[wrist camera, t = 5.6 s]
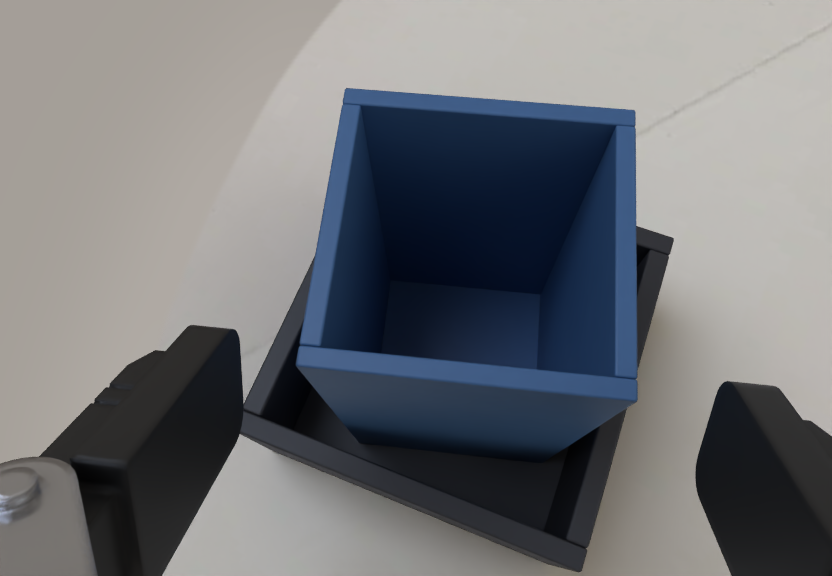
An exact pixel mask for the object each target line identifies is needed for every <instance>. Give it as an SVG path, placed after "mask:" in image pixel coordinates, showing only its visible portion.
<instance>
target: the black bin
mask: <svg viewBox="0 0 832 576" xmlns="http://www.w3.org/2000/svg"><path fill="white" fill-rule="evenodd" d="M673 241H674V239H673V238H672V237H668V236H665V235H662V234H659V233H656V232H653V231H650V230H647V229H644V228H641V227H638V226H636V257H637V370H638V367H639V363H640V360H641V356H642V352H643V349H644V345H645V342H646V338H647V334H648V331H649V327H650V324H651V320H652V317H653V313H654V309H655V306H656V302H657V299H658V295H659V291H660V288H661V284H662V281H663V277H664V273H665V270H666V266H667V263H668V259H669V254H670V252H671V248H672V245H673ZM314 260H315V257H314V259H313V261H312V263H311V265H310V267H309V269H308V271H307V274H306V276H305V278H304V280H303V282H302V284H301V286H300V288H299V290H298V292H297V294H296V296H295V298H294V301H293V303H292V305H291V307H290V309H289V311H288V313H287V315H286V317H285V319H284V321H283V323H282V326H281V328H280V330H279V332H278V334H277V336H276V338H275V340H274V342H273V344H272V346H271V348H270V350H269V353H268V355H267V357H266V359H265V361H264V363H263V365H262V367H261V369H260V371H259V373H258V375H257V377H256V380H255V382H254V384H253V386H252V388H251V390H250V392H249V394H248V396H247V398H246V400H245V402H244V405H243V407H244V410H243V420H242V426H241V430H240V434H241V435H243V436H245V437H247V438H249V439H251V440H253V441H255V442H257V443H258V444H260V445H262V446H264V447H266V448H268V449H270V450H272V451H275V452H277V453H279V454H282V455H284V456H287V457H289V458H292V459H294V460H296V461H299V462H301V463H304V464H306V465H309V466H311V467H313V468H316V469H318V470H321V471H323V472H326V473H328V474H330V475H333V476H335V477H338V478H340V479H343V480H345V481H347V482H350V483H352V484H355V485H357V486H360V487H362V488H364V489H367V490H369V491H372V492H374V493H377V494H379V495H381V496H384V497H386V498H389V499H391V500H394V501H396V502H398V503H401V504H403V505H406V506H408V507H411V508H413V509H415V510H418V511H420V512H423V513H425V514H428V515H430V516H432V517H435V518H437V519H440V520H442V521H445V522H447V523H449V524H452V525H454V526H457V527H459V528H462V529H464V530H466V531H469V532H471V533H474V534H476V535H479V536H481V537H484V538H486V539H488V540H491V541H493V542H496V543H498V544H501V545H503V546H505V547H508V548H510V549H513V550H515V551H518V552H520V553H522V554H525V555H527V556H530V557H532V558H535V559H537V560H539V561H542V562H544V563H547V564H549V565H553V566H557V567H561V568H565V569H568V570H572V571H576V572H581V571H582V568H583V564H584V561H585V557H586V553H587V549H586V548H587V547H588V546H589V542H590V539H591V535H592V532H593V528H594V525H595V521H596V517H597V514H598V510H599V507H600V503H601V499H602V496H603V492H604V489H605V485H606V481H607V478H608V474H609V471H610V467H611V464H612V460H613V456H614V453H615V449H616V446H617V442H618V438H619V435H620V431H621V428H622V424H623V421H624V417H625V413H626V410H627V408H626V409H624V410H623V411H621V412H620V413H618V414H617V415H615V416H614V417H612V418H611V419H609V420H608V421H606V422H604V423H603V424H601V425H600V426H598V427H597V428H595V429H594V430H592V431H591V432H589V433H588V434H586V435H585V436H583V437H581V438H580V439H578V440H577V441H575V442H574V443H572V444H571V445H569V446H568V447H566V448H565V449H563V450H562V451H560V452H558V453H557V454H555V455H554V456H552V457H551V458H549V459H548V460H546V461H545V462H543V463H534V462H525V461H516V460H507V459H498V458H489V457H480V456H471V455H462V454H453V453H444V452H435V451H426V450H417V449H408V448H399V447H390V446H381V445H371V444H362V443H359V442H358V441H357V440H356V439H355V437H354V436H353V435H352V434H351V432H350V431H349V430H348V429H347V428H346V426H345V425H344V424H343V423H342V421H341V420H340V419H339V418H338V417H337V415H336V414H335V413H334V412H333V410H332V409H331V408H330V407H329V406H328V404H327V403H326V402H325V401H324V399H323V398H322V397H321V396H320V395H319V393H318V392H317V391H316V390H315V388H314V387H313V386H312V385H311V384H310V382H309V381H308V380H307V379H306V377H305V376H304V375H303V374H302V373H301V371H300V370H299V369H298V368H297V366H296V360H297V354H298V349H299V347H300V346H301V345H300V338H301V332H302V327H303V321H304V315H305V310H306V304H307V299H308V293H309V288H310V282H311V276H312V271H313V265H314Z"/></svg>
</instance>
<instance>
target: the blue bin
mask: <svg viewBox="0 0 832 576" xmlns="http://www.w3.org/2000/svg"><path fill="white" fill-rule="evenodd" d="M300 345H301V346H300V347H299V349H298V354H297V360H296V366H297V368H298V369H299V370H300V371H301V373H302V374H303V375H304V376H305V377H306V379H307V380H308V381H309V382H310V384H311V385H312V386H313V387H314V388H315V390H316V391H317V392H318V393H319V395H320V396H321V397H322V398H323V399H324V401H325V402H326V403H327V404H328V406H329V407H330V408H331V409H332V410H333V412H334V413H335V414H336V415H337V417H338V418H339V419H340V420H341V421H342V423H343V424H344V425H345V426H346V428H347V429H348V430H349V431H350V432H351V434H352V435H353V436H354V437H355V439H356V440H357V441H358V442H359V443H362V444H371V445H381V446H390V447H399V448H408V449H417V450H426V451H435V452H444V453H453V454H462V455H471V456H480V457H489V458H498V459H507V460H516V461H525V462H534V463H543V462H545V461H546V460H548V459H549V458H551V457H552V456H554V455H555V454H557V453H558V452H560V451H562V450H563V449H565V448H566V447H568V446H569V445H571V444H572V443H574V442H575V441H577V440H578V439H580V438H581V437H583V436H585V435H586V434H588V433H589V432H591V431H592V430H594V429H595V428H597V427H598V426H600V425H601V424H603V423H604V422H606V421H608V420H609V419H611V418H612V417H614V416H615V415H617V414H618V413H620V412H621V411H623V410H624V409H626V408H627V407H629V406H631V405H632V404H634V403H635V402H637V400H638V385H637V380H636V379H637V257H636V129H635V111H634V110H626V109H613V108H600V107H586V106H573V105H560V104H547V103H534V102H521V101H508V100H495V99H482V98H469V97H456V96H442V95H429V94H416V93H403V92H390V91H377V90H364V89H351V88H346V89H345V93H344V98H343V105H342V109H341V115H340V120H339V126H338V132H337V137H336V143H335V148H334V154H333V159H332V165H331V171H330V176H329V182H328V187H327V193H326V198H325V204H324V210H323V215H322V221H321V226H320V232H319V237H318V243H317V249H316V254H315V260H314V265H313V271H312V276H311V282H310V288H309V293H308V299H307V304H306V310H305V315H304V321H303V327H302V332H301V338H300Z"/></svg>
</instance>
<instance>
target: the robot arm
mask: <svg viewBox="0 0 832 576" xmlns="http://www.w3.org/2000/svg"><path fill="white" fill-rule="evenodd" d="M243 410H244V407H243V388H242V372H241V355H240V341H239V336H238V333H237V332H236V330H234V329H226V328H216V327H206V326H197V325H190V326H188V327H187V328H186V329H185V330H184V331H183V332H182V333H181V335H180V336H179V337H178V338H177V339H176V340H175V341H174V342H173V343H172V345H171V346H170V347H169V348H168V349H167V350H166V351H158V350H155V351H153V352H151V353H149V354H147V355H146V356H144V357H142V358H140V359H138V360H136V361H134V362H133V363H131V364H129V365H127V366H126V368H124V370H123V371H122V372H121V373H120V374H119V375H118V376H117V377H116V378H115V379H114V380H113V381H112V382H111V383H110V387H109V388H105V389H104V390H103V391H102V392H101V393H100V394H99V395H98V396H97V397H96V398H95V402H94V404H92V403H91V404H90V405H89V406H88V407H87V408H86V409H85V410H84V411H83V412H82V413H81V414H80V415H79V416H78V417H77V418H76V419H75V420H74V421H73V422H72V423H71V424H70V425H69V427H67V428H66V429H65V430H64V431H63V432H62V433H61V435H60V436H59V437H58V438H57V439H56V440H55V441H54V442H53V443H52V444H51V445H50V446H49V447H48V448H47V449H46V450H45V451H44V452H43V453H42V454H41V455H40V456H39V457H28V458H20V459H16V460H11V461H8V462H4V463H1V464H0V576H162V574H163V572H164V571H165V569H166V567H167V565H168V564H169V562H170V560H171V558H172V556H173V555H174V553H175V551H176V549H177V547H178V546H179V544H180V542H181V540H182V539H183V537H184V535H185V533H186V531H187V530H188V528H189V526H190V524H191V523H192V521H193V519H194V517H195V515H196V514H197V512H198V510H199V508H200V506H201V505H202V503H203V501H204V499H205V498H206V496H207V494H208V492H209V490H210V489H211V487H212V485H213V483H214V481H215V480H216V478H217V476H218V474H219V473H220V471H221V469H222V467H223V465H224V464H225V462H226V460H227V458H228V456H229V455H230V453H231V451H232V449H233V448H234V446H235V444H236V442H237V439H238V437H239V434H240V430H241V426H242V420H243ZM696 487H697V492H698V496H699V499H700V501H701V504H702V506H703V509H704V511H705V513H706V516H707V518H708V521H709V523H710V525H711V528H712V530H713V532H714V535H715V537H716V540H717V542H718V544H719V547H720V549H721V552H722V554H723V556H724V559H725V561H726V564H727V566H728V568H729V571H730V573H731V575H732V576H832V436H830V435H829V434H828V433H826V432H825V431H824V430H822V429H821V428H820V427H818V426H817V425H816V424H814V423H813V422H811V421H807V420H802V418H801V417H800V416H799V414H798V413H797V412H796V410H795V409H794V408H793V406H792V405H791V403H790V402H789V401H788V399H787V398H786V397H785V395H784V394H783V393H782V391H781V390H780V389H779V388H777V387H775V386H769V385H759V384H749V383H740V382H730V381H727V382H724V383H723V384H722V385H721V386H720V388H719V390H718V392H717V395H716V398H715V401H714V404H713V408H712V411H711V414H710V418H709V421H708V424H707V428H706V431H705V434H704V438H703V441H702V444H701V448H700V451H699V454H698V458H697V463H696Z"/></svg>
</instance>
